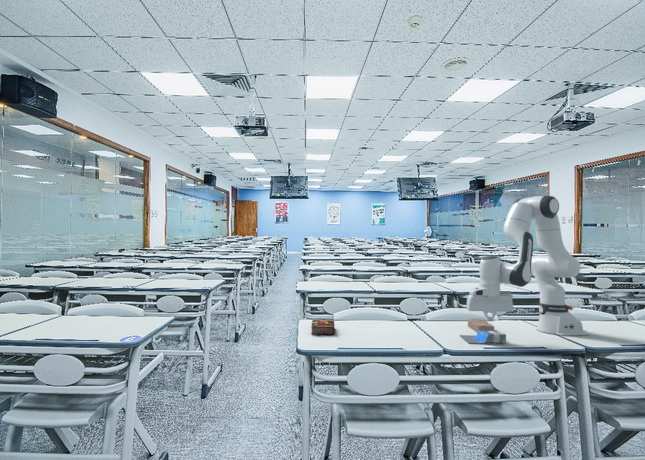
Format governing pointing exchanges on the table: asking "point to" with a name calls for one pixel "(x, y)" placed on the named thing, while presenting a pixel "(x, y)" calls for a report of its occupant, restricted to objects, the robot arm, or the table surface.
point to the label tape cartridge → (490, 336)
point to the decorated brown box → (322, 327)
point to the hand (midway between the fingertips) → (489, 320)
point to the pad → (469, 340)
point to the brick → (479, 324)
